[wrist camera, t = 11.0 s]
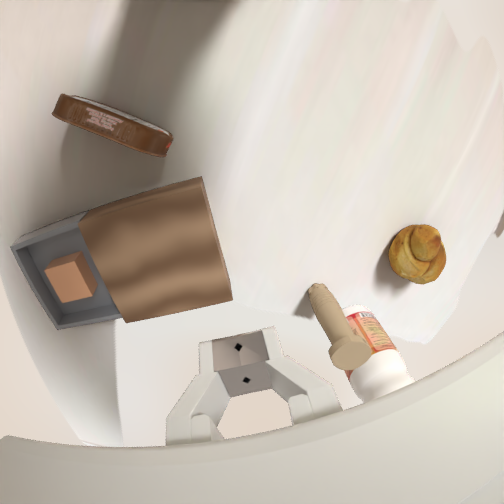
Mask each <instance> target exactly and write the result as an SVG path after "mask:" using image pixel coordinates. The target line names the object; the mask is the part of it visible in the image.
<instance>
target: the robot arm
mask: <svg viewBox="0 0 504 504" xmlns="http://www.w3.org/2000/svg"><path fill="white" fill-rule="evenodd" d="M199 373H200V375H196V376H195V377H194V379H193V380H192V382H191V383H190V385H189V386H188V388H187V389H186V390H185V392H184V393H183V395H182V396H181V398H180V399H179V401H178V402H177V403H176V405H175V406H174V408H173V409H172V411H171V412H170V413H169V415H168V416H167V418H166V446H156V447H96V446H79V445H67V444H57V443H50V442H42V441H36V440H30V439H24V438H19V437H14V436H5V437H3V438H2V439H1V440H0V504H504V331H503V332H502V333H500V334H499V335H497V336H496V337H494V338H493V339H491V340H490V341H488V342H487V343H485V344H483V345H482V346H480V347H479V348H477V349H475V350H474V351H472V352H470V353H469V354H467V355H465V356H463V357H462V358H460V359H458V360H457V361H455V362H453V363H451V364H449V365H447V366H445V367H444V368H442V369H440V370H438V371H436V372H434V373H432V374H430V375H428V376H426V377H424V378H422V379H420V380H418V381H416V382H413V383H411V384H409V385H407V386H405V387H402V388H400V389H398V390H395V391H393V392H391V393H388V394H386V395H384V396H381V397H379V398H376V399H374V400H371V401H368V402H366V403H363V404H360V405H358V406H355V407H352V408H349V409H346V410H344V411H343V410H342V407H341V405H340V402H339V400H338V397H337V395H336V393H335V390H334V388H333V385H332V384H331V383H329V382H328V381H326V380H324V379H323V378H321V377H320V376H318V375H317V374H315V373H314V372H312V371H311V370H309V369H308V368H306V367H304V366H303V365H301V364H300V363H298V362H297V361H295V360H294V359H292V358H291V357H290V356H284V354H283V351H282V347H281V344H280V341H279V338H278V334H277V331H276V328H275V327H274V326H272V327H268V328H264V329H262V330H261V329H260V330H256V331H252V332H248V333H244V334H239V335H236V336H230V337H225V338H220V339H215V340H211V341H205V342H200V343H199ZM267 389H273V390H274V391H275V392H277V394H278V395H280V396H281V397H282V398H283V399H284V400H285V401H287V402H288V403H289V409H290V414H291V420H292V425H293V426H289V427H285V428H280V429H276V430H272V431H267V432H263V433H258V434H253V435H248V436H242V437H236V438H231V439H224V437H223V436H222V435H221V433H220V432H219V430H218V429H217V426H218V424H219V422H220V420H221V417H222V416H223V413H224V411H225V409H226V407H227V405H228V403H229V401H230V397H235V396H239V395H243V394H247V393H251V392H257V391H262V390H267Z"/></svg>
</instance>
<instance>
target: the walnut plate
mask: <svg viewBox="0 0 504 504" xmlns="http://www.w3.org/2000/svg"><path fill="white" fill-rule="evenodd" d="M78 227H79V229H80V231H81V234H82V236H83V238H84V241H85V243H86V245H87V248H88V250H89V252H90V254H91V256H92V259H93V261H94V263H95V265H96V267H97V269H98V271H99V273H100V275H101V277H102V279H103V281H104V283H105V285H106V287H107V289H108V291H109V293H110V295H111V297H112V299H113V301H114V303H115V304H116V306H117V308H118V310H119V312H120V314H121V315H122V317H123V319H124V321H125V322H126V323H129V322H135V321H140V320H144V319H150V318H155V317H160V316H164V315H169V314H174V313H179V312H183V311H188V310H193V309H197V308H201V307H206V306H210V305H215V304H219V303H224V302H228V301H232V300H233V297H232V291H231V284H230V279H229V275H228V272H227V268H226V265H225V261H224V257H223V254H222V250H221V247H220V243H219V239H218V236H217V232H216V228H215V225H214V221H213V217H212V213H211V210H210V206H209V202H208V198H207V194H206V190H205V187H204V183H203V179H202V176H201V177H197V178H193V179H189V180H186V181H182V182H178V183H175V184H171V185H167V186H164V187H160V188H157V189H153V190H150V191H147V192H143V193H140V194H137V195H134V196H130V197H127V198H124V199H121V200H118V201H115V202H112V203H109V204H106V205H103V206H100V207H97V208H94V209H91V210H90V211H89V212H88V213H87V214H86V215H85V216H84V217H83V218H82V220H81V221H80V222H79V223H78Z"/></svg>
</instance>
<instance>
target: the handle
mask: <svg viewBox="0 0 504 504" xmlns="http://www.w3.org/2000/svg"><path fill="white" fill-rule="evenodd" d="M308 293H309V298H310V302H311V305H312V308H313V311H314V313H315V315H316V317H317V319H318V321H319V323H320V324H321V326H322V328H323V329H324V331H325V333H326V335H327V336H328V338H329V340H330V342H331V344H332V346H331V347H330V349H329V355H330V358H331V360H332V363H333V365H334V366H336V367H337V368H339V369H341V370H354V369H357V368H359V367H360V366H362V365H363V364H364V363H366V362H367V361H368V360H369V358H370V357H371V349H370V347H369V345H368V343H367V342H366V341H365V340H364V339H363V338H362V337H361V336H358V335H354V333H353V331H352V329H351V327H350V325H349V323H348V321H347V319H346V317H345V315H344V313H343V311H342V309H341V307H340V305H339V303H338V302H337V300H336V299H335V297H334V296H333V295H332V293H331V292H330V291H329V290H328V288H327V287H326V286H325V285H324V284H317V283H315V284H313V286H312V287H311V288H309V289H308Z"/></svg>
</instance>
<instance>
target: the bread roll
mask: <svg viewBox="0 0 504 504" xmlns="http://www.w3.org/2000/svg"><path fill="white" fill-rule="evenodd" d="M389 261H390V265H391V267H392V269H393V271H394V272H395V273H396V274H397V275H399V276H401V277H402V278H406V279H409V280H410V281H412V282H414V283H415V284H417V283H418V284H426V283H429V282H432V281H435V280H436V279H437V278H438V277H439V275H440V274H441V272H442V270H443V269H444V267H445V263H446V253H445V248H444V245H443V243H442V241H441V237H440V234H439V232H438V230H437V229H435V228H433V227H431V226H429V225H410V226H408V227H406V228H404V229H403V230H401V231H400V232H399V233H398V235H397V236H396V237H395V239H394V240H393V242H392V244H391V246H390V249H389Z"/></svg>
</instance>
